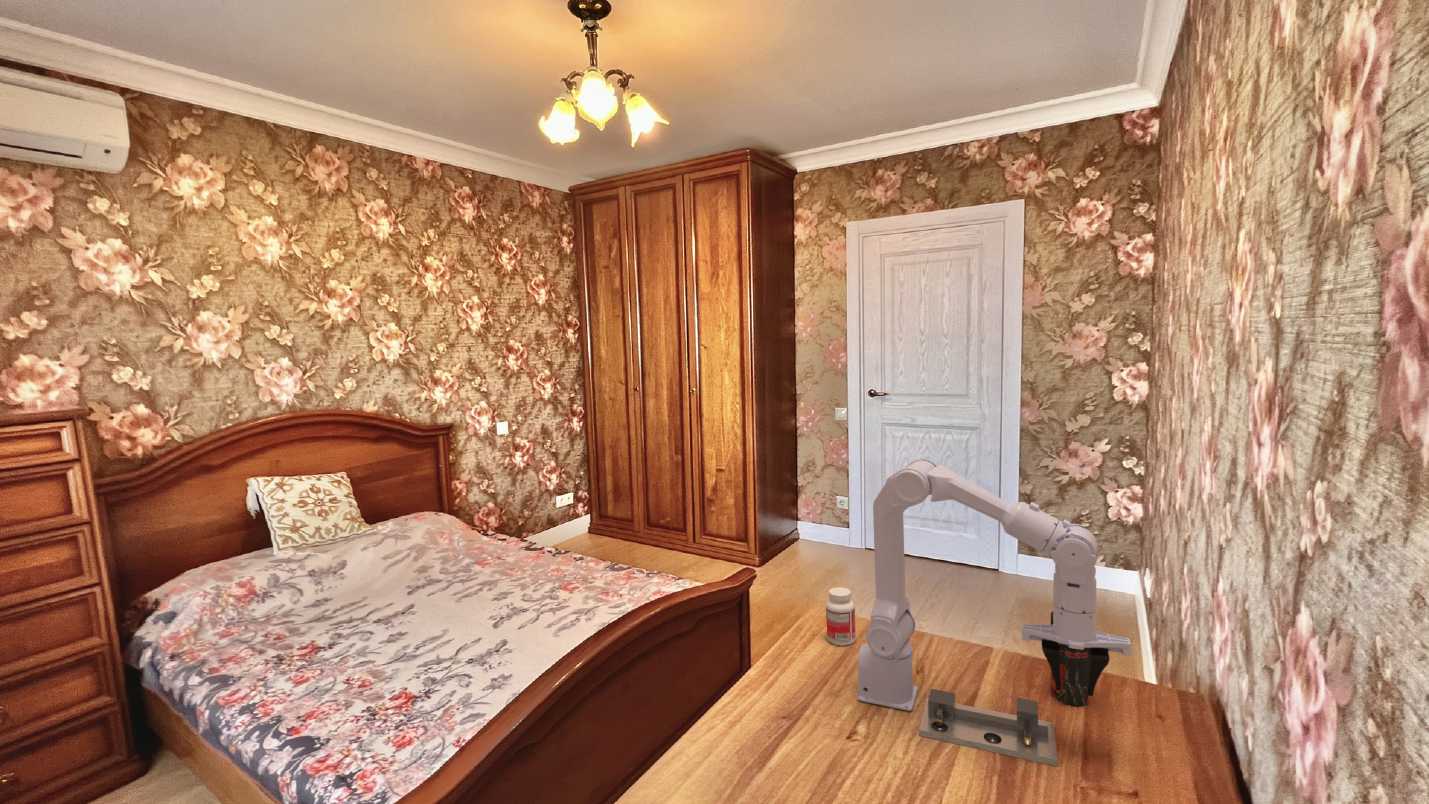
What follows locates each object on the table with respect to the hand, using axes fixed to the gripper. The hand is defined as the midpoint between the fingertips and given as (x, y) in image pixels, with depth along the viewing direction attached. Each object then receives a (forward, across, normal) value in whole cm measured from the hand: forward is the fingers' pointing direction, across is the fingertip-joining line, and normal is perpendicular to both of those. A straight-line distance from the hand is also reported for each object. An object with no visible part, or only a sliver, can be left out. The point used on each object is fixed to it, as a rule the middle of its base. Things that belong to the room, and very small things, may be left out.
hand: (1073, 689), depth 97 cm
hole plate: (+9, -12, -1) cm, 16 cm away
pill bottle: (+10, -42, +22) cm, 49 cm away
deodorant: (+10, 0, +15) cm, 18 cm away
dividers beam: (+8, -13, -1) cm, 15 cm away
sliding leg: (+8, -6, -1) cm, 10 cm away
